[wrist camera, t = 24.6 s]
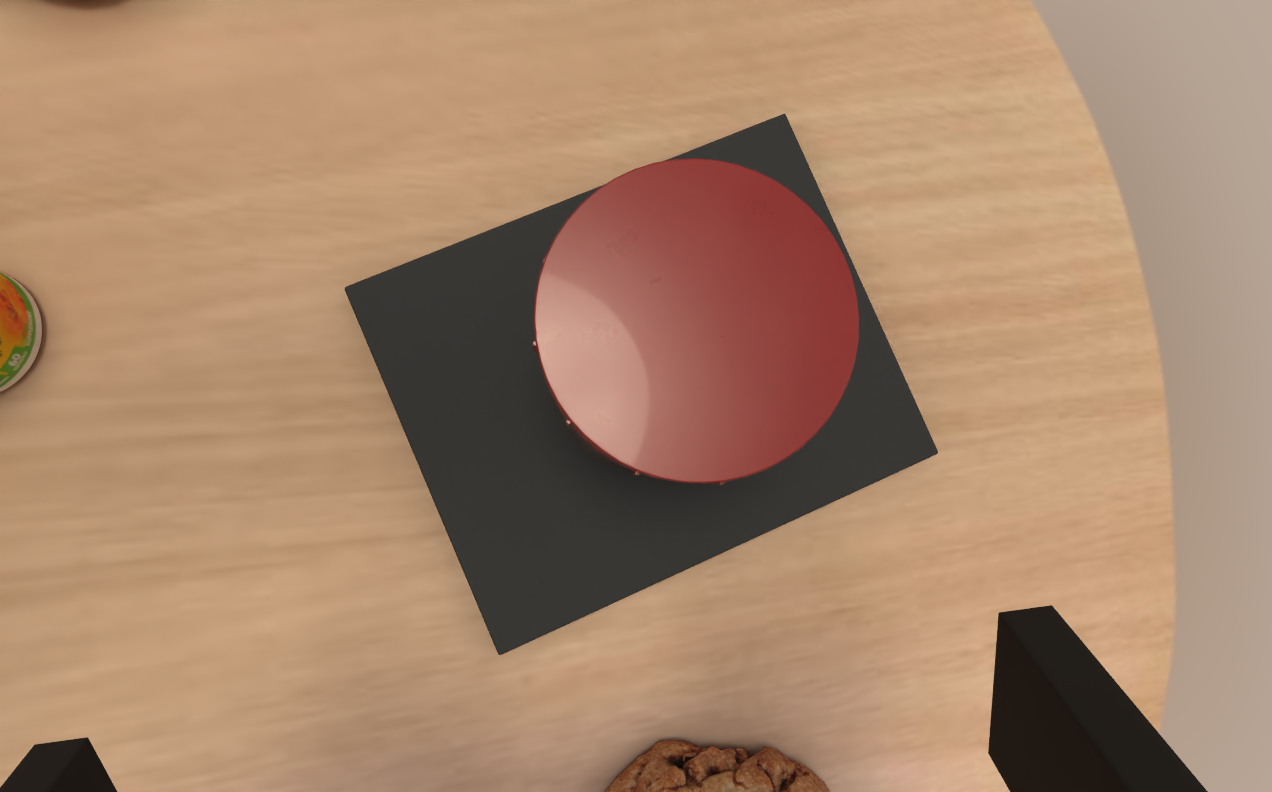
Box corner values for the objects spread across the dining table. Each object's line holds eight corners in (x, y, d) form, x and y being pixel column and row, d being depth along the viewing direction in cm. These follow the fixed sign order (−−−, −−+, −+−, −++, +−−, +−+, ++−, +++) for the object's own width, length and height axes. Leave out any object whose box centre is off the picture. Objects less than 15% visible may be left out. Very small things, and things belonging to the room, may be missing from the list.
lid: (488, 248, 22) (481, 229, 20) (762, 139, 22) (779, 111, 21) (609, 531, 21) (614, 538, 19) (883, 408, 22) (911, 403, 20)
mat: (349, 292, 33) (343, 287, 32) (779, 122, 35) (785, 112, 34) (500, 650, 32) (498, 656, 31) (929, 453, 35) (939, 453, 34)
